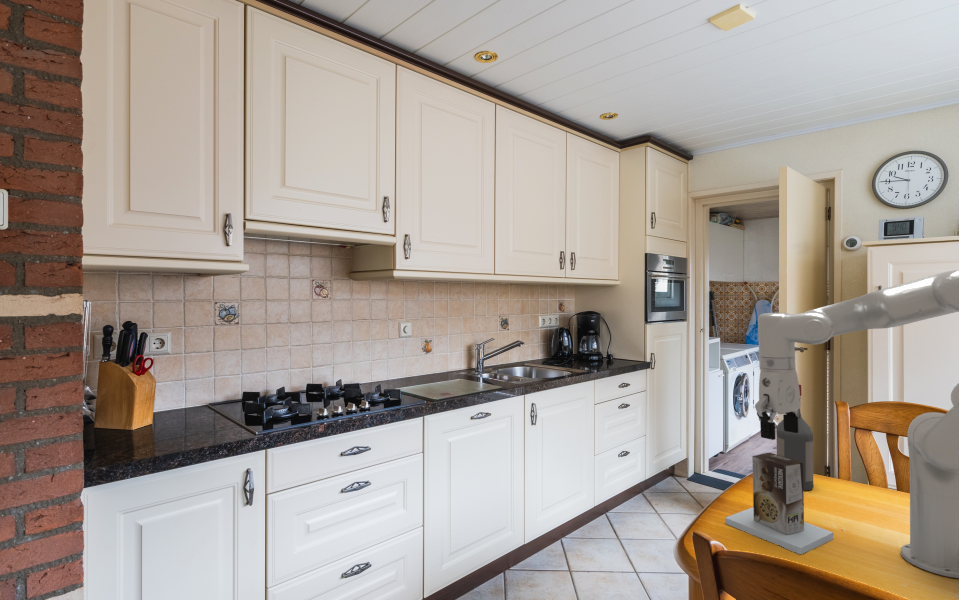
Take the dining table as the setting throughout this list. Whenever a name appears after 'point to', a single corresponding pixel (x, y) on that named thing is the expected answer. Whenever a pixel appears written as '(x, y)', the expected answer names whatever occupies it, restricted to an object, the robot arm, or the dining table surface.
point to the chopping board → (792, 542)
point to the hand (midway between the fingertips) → (779, 435)
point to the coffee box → (778, 492)
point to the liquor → (798, 447)
